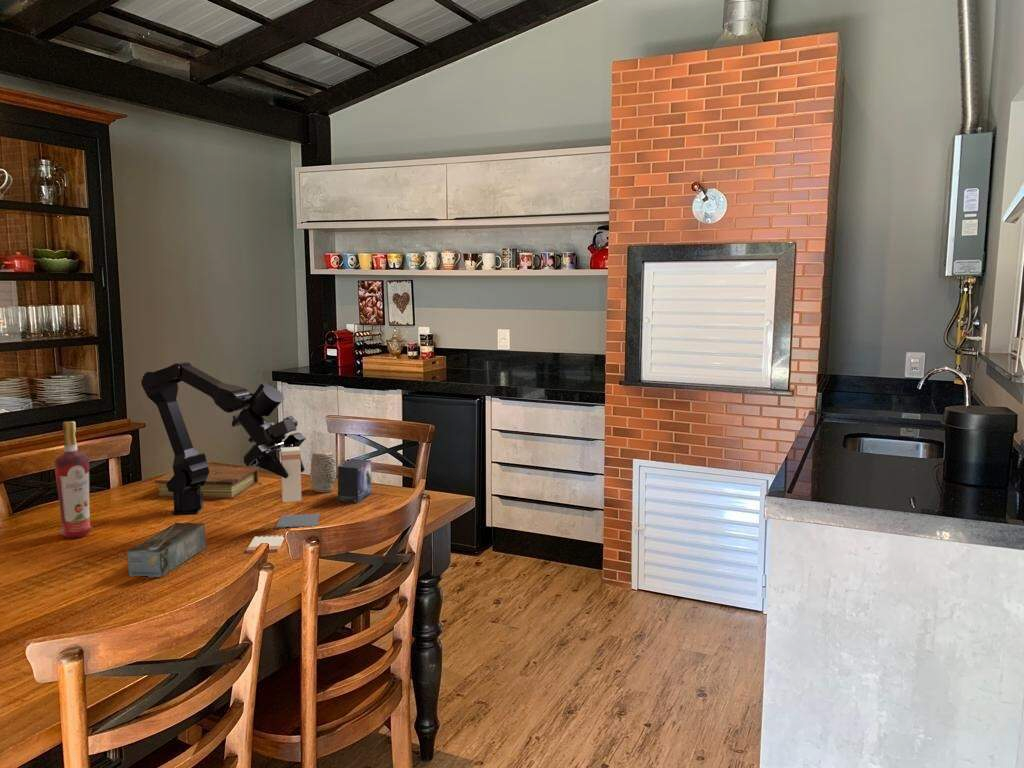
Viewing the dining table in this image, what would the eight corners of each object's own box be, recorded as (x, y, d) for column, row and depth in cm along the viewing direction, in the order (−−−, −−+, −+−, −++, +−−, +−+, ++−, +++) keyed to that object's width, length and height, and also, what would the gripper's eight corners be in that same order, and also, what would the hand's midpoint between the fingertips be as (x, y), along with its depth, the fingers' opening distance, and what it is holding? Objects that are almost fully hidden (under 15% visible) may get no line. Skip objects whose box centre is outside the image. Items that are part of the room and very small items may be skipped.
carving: (333, 493, 225) (332, 453, 223) (307, 493, 225) (306, 453, 223) (338, 488, 231) (337, 449, 229) (313, 487, 231) (312, 449, 229)
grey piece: (126, 577, 160) (124, 547, 159) (176, 547, 179) (175, 519, 178) (161, 579, 159) (159, 549, 158) (208, 548, 178) (207, 521, 177)
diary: (258, 484, 237) (258, 466, 236) (233, 501, 218) (232, 481, 218) (186, 482, 238) (186, 464, 238) (155, 498, 220) (154, 479, 219)
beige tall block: (282, 502, 191) (281, 451, 190) (281, 497, 196) (280, 447, 194) (301, 500, 193) (300, 450, 191) (300, 495, 197) (299, 446, 196)
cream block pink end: (277, 551, 176) (277, 548, 175) (246, 553, 175) (245, 550, 175) (284, 537, 185) (284, 534, 185) (254, 538, 184) (254, 535, 184)
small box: (358, 504, 214) (357, 467, 213) (337, 502, 216) (336, 466, 214) (372, 494, 225) (372, 459, 223) (352, 492, 226) (351, 458, 225)
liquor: (88, 528, 191) (81, 418, 188) (97, 535, 186) (90, 422, 183) (55, 535, 186) (47, 422, 183) (64, 542, 181) (55, 426, 177)
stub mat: (275, 528, 192) (275, 526, 192) (281, 516, 202) (281, 515, 202) (315, 527, 194) (315, 525, 194) (320, 515, 203) (320, 513, 203)
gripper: (251, 413, 184) (291, 462, 182) (298, 402, 201) (335, 446, 199) (226, 442, 188) (264, 490, 185) (274, 429, 205) (310, 473, 203)
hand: (295, 474), depth 193 cm, fingers closed on beige tall block, 6 cm apart
